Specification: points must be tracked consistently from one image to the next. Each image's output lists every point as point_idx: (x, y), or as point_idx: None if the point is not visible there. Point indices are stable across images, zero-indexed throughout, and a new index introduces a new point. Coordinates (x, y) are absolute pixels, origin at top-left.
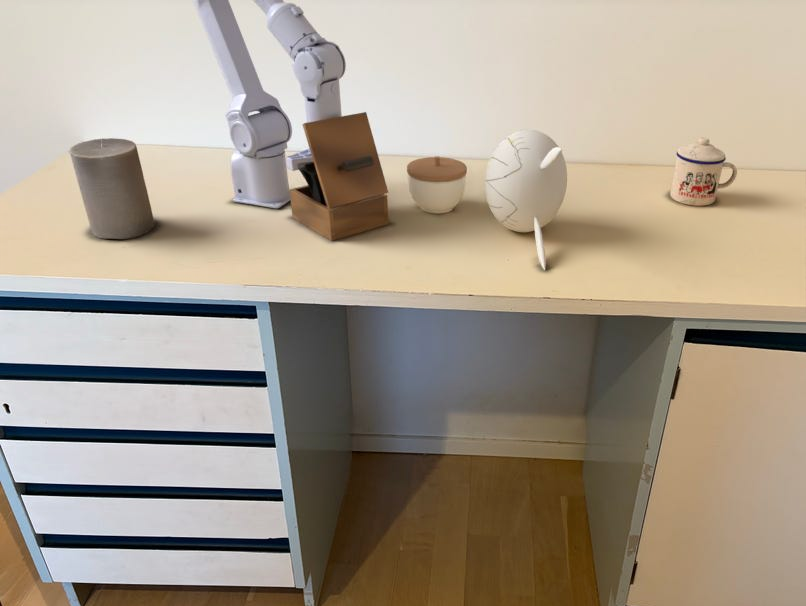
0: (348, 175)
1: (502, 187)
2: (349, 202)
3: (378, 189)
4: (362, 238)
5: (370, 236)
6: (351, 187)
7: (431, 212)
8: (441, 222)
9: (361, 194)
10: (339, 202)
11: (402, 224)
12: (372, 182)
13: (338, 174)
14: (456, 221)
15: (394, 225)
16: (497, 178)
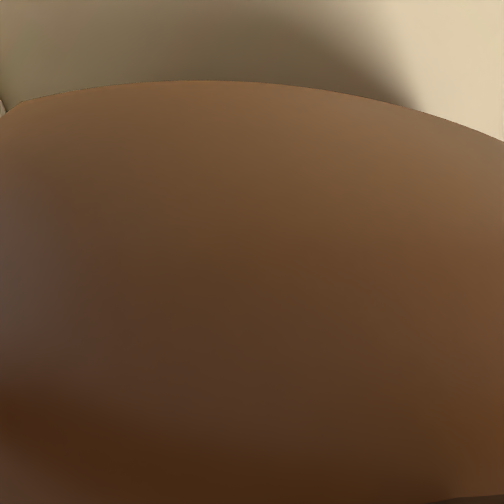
0: (244, 330)
1: None
2: (371, 100)
3: (40, 109)
4: (318, 53)
5: (274, 45)
6: (289, 159)
7: (3, 109)
8: (23, 32)
9: (201, 97)
10: (473, 135)
11: (98, 72)
12: (18, 149)
13: (485, 423)
14: (4, 24)
15: (123, 80)
16: None
